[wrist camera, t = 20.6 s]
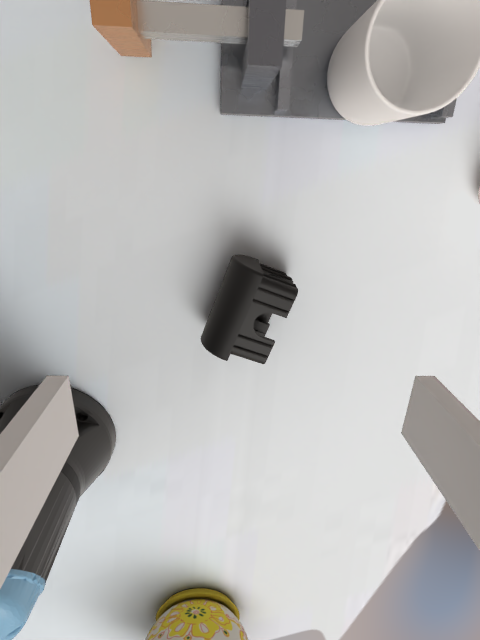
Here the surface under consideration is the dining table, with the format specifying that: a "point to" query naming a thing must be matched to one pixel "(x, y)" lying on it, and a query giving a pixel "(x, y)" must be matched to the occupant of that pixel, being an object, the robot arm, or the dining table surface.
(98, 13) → the lever
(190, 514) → the dining table surface
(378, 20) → the mug
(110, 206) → the dining table surface
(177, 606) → the flowerpot
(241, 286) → the end cap
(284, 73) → the dock
